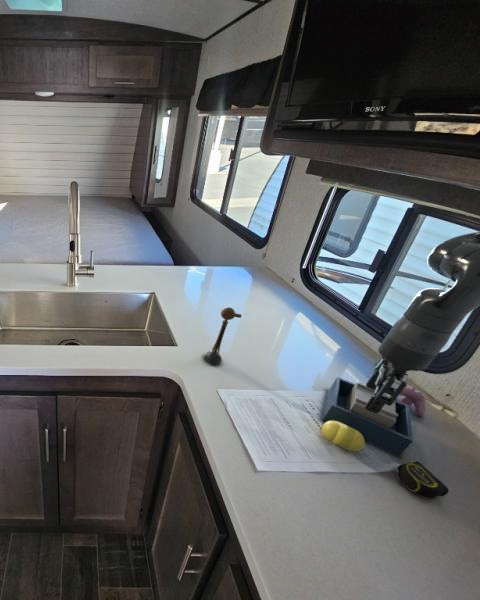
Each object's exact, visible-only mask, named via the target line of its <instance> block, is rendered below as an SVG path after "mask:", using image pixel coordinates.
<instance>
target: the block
mask: <svg viewBox="0 0 480 600" xmlns="http://www.w3.org/2000/svg"><path fill="white" fill-rule="evenodd" d="M354 384H355V385H354V387H353V388H352V390H351V391H350V393H349V394H348V396H347V397H346V399H345V401H344V409H346V410H348V411H351V412H353V413H355V414H357V415H360V416H362V417H364V418H366V419H369V420H371V421H373V422H375V423H378V424H380V425H382V426H384V427H387V428H389V429H390V428H391V427H392V426H393V425H394V423H395V422H396V418H397V417H398V414H397V413H396V407H395V401H396V400H397V401H398V399H397V398H398V397H397V398H396V399H395V401H394V402H393V404H392V405H391V406H389V405H386V404H385V405H384V406H383V407H382V409H381V410H380V411H379V413H373V412H371V411H369V410H366V409H365V405H366V404H367V402H368V401H369V400H370V398H371V397H372V395H373V393H374V392H375V390H373V389H371V388H368V387H367V386H366V384H365V383H362V382H359V381H356V382H355V383H354ZM383 395H386V396H387V394H386V393H383Z"/></svg>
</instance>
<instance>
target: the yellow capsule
mask: <svg viewBox="0 0 480 600" xmlns="http://www.w3.org/2000/svg"><path fill="white" fill-rule="evenodd" d="M321 431H322V435H323V436H324V437H325V439H327V440H328V441H329V442H331V443H332V444H335V445H337V446H339V447H341V448H342V449H345V450H348V451H350V452H351V451H352V452H357V451H360V450H362V449H363V448H364V446H365V444H366V441H365V440H364V437H363V436H362V434H361V433H360V432H358V431H357V430H355V429H353V428H351V427H349V426H347V425H345V424H343V423H340V422H338V421H327V422H324V423H323V425H322V427H321Z"/></svg>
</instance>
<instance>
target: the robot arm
mask: <svg viewBox="0 0 480 600" xmlns="http://www.w3.org/2000/svg"><path fill="white" fill-rule="evenodd" d="M426 261H427V265H428V267H429V269H430V270H432V272H434V273H435V274H437V275H439V276H441V277H443V278H445V279H447V280H450V281H451V282H453V283H454V285H453V286H452V287H451V288H449V289H447V290H446V289H442V288H434V287H431V288H430V287H429V288H424V289H422V290H420V291H419V292H418V293H417V294H416V295H415V297H414V298H413V299H412V301H411V302H410V304H409V305H408V307H407V308H406V309H405V311H404V313H403V314H402V315H401V316H400V317H399V318H398V319H397V320H396V321H395V323H394V324H393V326H392V327H391V328H390V330H389V331H388V333H387V334H386V336H385V337H384V339H383V341H382V342H381V343H380V345H379V346H378V348H377V349H378V350H377V352H378V353H379V355H380V357H379V358H378V359H377V361H376V362H375V363H374V367H375V368H373V373H372V375H371V376H370V377H369V379H368V380H367V381H366V384H365V385H366V386H367V387H368V388H371V389H373V390H375V392H374V393H373V395H372V397H371V398H370V400H369V401H368V402H367V404H366V405H365V409H366V410H369V411H371V412H373V413H379V411H380V410H381V409H382V407H383V406H384V405H385V404H386V405H389V406H391V405H392V404H393V402H394V401H395V399H396V398H398V397H399V396H400V395H399V394H400V393H401V392H402V390H403V389H404V388H405V387H406V385H407V386H408V384H407V381H406V380H407V378H408V376H409V373H407V372H410V371H411V372H412V371H413V372H422V371H425V370H426V369H427V368H428V367H429V365H430V364H431V363H432V362H433V361H434V359H436V357H437V356H438V355H439V353H440V352H441V351H442V350H443V349H444V347H445V346H446V345H447V343H448V342H449V340H450V338H451V337H452V335H453V333H454V331H456V330H457V328H458V327H459V326H460V324H461V323H462V322H463V321H464V320H465V318H466V317H467V315H468V314H469V313H471V312H472V311H474V310H475V309H477V308H478V307H479V306H480V231H476V232H471V233H464V234H461V235H457V236H454V237H452V238H449V239H447V240H445V241H442V242H441V243H439V244H438V245H437V246H435V247H434V248H433V249H432V250H431V252H430V253H429V255H428V256H427V260H426ZM384 382H385V383H384ZM383 383H384V384H383ZM383 393H386V394H387V396H386V395H383Z"/></svg>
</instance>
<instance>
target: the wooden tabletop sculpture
mask: <svg viewBox="0 0 480 600" xmlns="http://www.w3.org/2000/svg"><path fill="white" fill-rule="evenodd" d="M220 316H221V318H222V319H224V320H222V323H221V327H220V330H219V333H218V336H217V339H216V340H215V343H214V345H213V347H212V348H211V350H210V351H207V353H206V355H205V356H204V360H205V362H206V363H208V364H209V365H211V366H219V365H220V364H221V362H222V356H221V354H220V349H221V345H222V341H223V338H224V335H225V332H226V329H227V327H228V324H229V321H231V320H233V319H234V318H239V319H241V318H242V314H241V313H236V310H235V309H234V308H232V307H229V306H228V307H224V308H223V309H222V310H221V311H220Z"/></svg>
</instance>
